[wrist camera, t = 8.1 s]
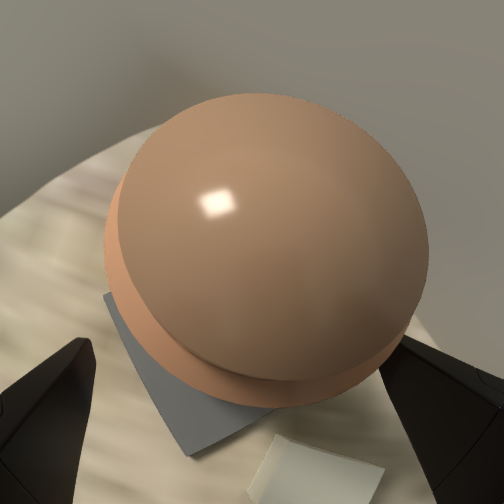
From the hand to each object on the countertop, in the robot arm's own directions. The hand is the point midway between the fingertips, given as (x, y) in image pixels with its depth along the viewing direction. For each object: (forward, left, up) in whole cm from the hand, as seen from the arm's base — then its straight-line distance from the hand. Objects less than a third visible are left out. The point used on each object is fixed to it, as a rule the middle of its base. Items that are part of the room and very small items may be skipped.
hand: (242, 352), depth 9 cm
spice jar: (+1, -1, -8) cm, 8 cm away
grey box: (-9, -1, -9) cm, 12 cm away
